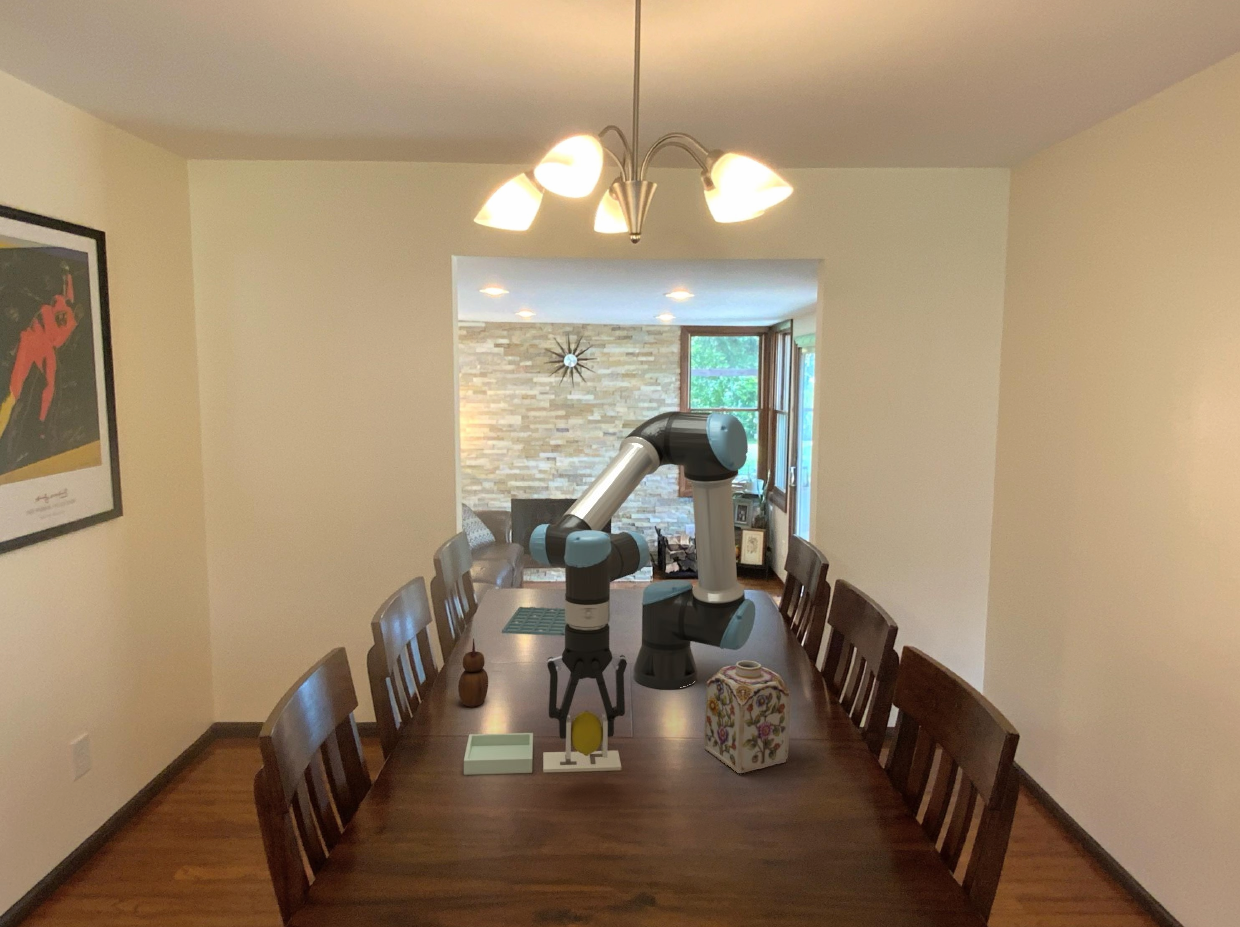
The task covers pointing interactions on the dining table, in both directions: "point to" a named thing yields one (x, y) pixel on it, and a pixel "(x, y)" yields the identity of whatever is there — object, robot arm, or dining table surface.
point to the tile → (580, 762)
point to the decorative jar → (747, 716)
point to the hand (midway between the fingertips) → (586, 754)
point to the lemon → (586, 733)
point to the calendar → (537, 621)
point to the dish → (499, 753)
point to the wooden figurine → (473, 679)
